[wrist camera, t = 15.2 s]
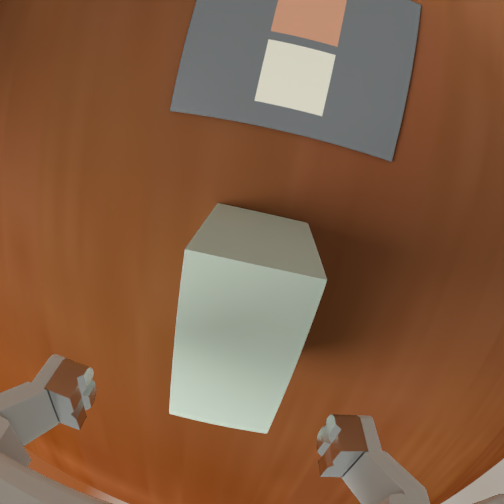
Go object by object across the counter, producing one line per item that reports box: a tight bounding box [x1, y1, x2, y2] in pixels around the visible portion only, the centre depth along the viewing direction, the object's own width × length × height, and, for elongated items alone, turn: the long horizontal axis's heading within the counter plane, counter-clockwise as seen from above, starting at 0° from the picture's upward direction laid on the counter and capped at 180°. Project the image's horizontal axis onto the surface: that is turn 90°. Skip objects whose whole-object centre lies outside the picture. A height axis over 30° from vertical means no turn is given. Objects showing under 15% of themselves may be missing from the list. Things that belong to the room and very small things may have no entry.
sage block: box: [169, 203, 327, 434], centre depth 16 cm, size 5×9×7 cm, turn 168°
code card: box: [170, 0, 421, 162], centre depth 14 cm, size 12×10×1 cm
